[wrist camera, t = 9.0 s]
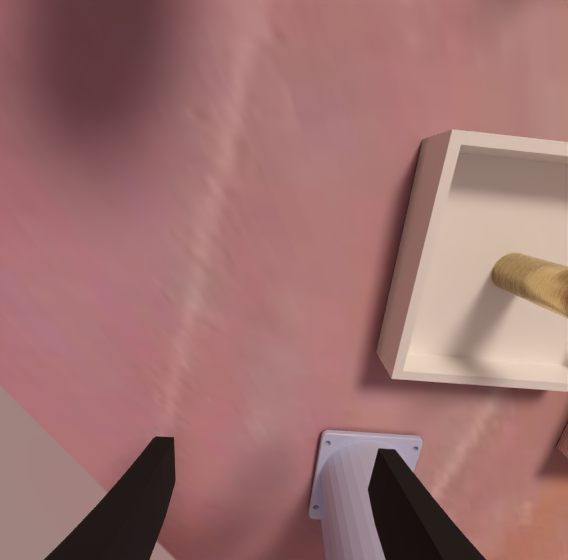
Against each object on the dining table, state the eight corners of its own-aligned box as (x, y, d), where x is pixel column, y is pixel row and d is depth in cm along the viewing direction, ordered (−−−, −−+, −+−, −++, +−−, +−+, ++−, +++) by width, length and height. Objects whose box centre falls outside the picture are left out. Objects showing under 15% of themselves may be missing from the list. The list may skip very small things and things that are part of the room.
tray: (562, 366, 21) (605, 394, 19) (376, 352, 21) (391, 378, 18) (652, 164, 17) (727, 159, 14) (422, 139, 17) (452, 129, 14)
